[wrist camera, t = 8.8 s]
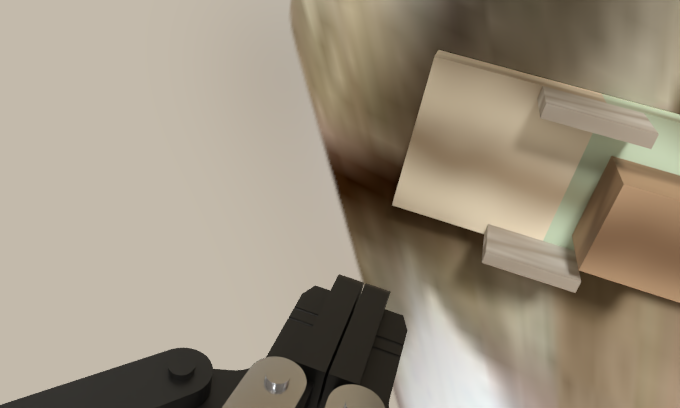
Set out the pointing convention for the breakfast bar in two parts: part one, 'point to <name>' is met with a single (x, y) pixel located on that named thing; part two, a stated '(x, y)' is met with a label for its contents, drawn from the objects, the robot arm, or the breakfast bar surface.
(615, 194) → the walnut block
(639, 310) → the breakfast bar surface
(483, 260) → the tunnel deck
